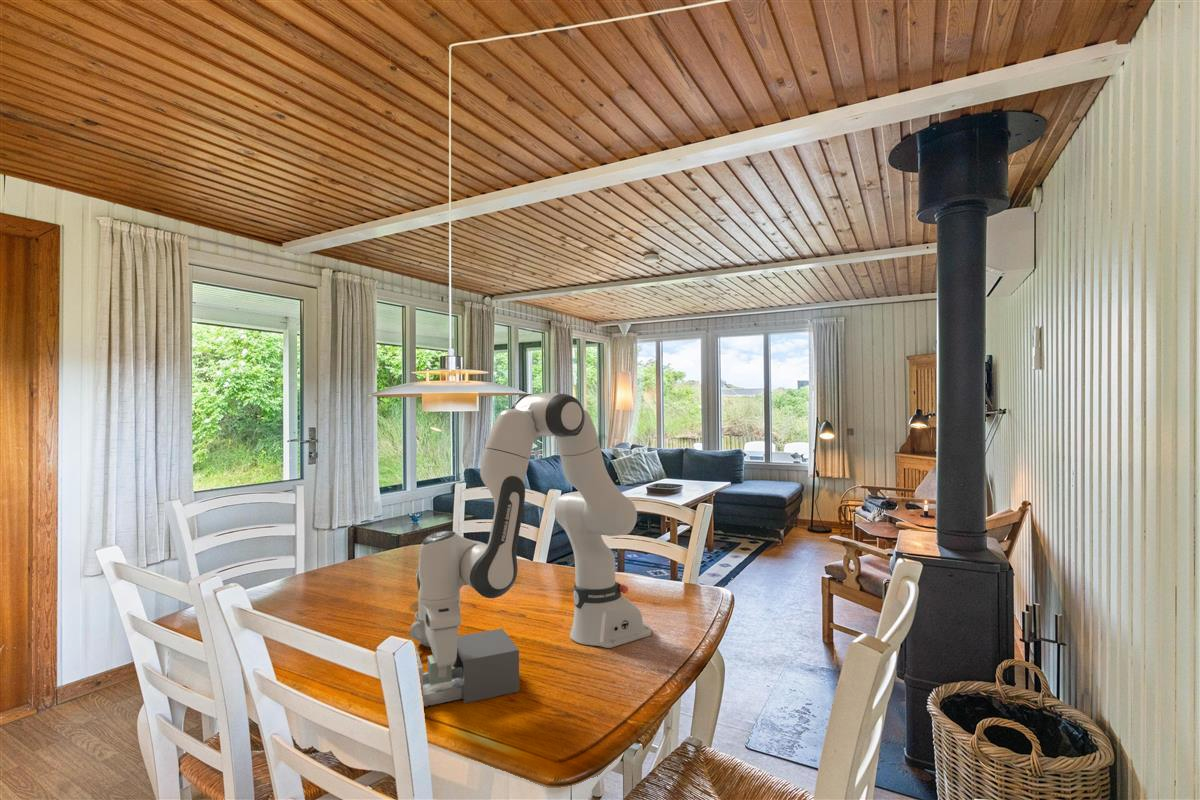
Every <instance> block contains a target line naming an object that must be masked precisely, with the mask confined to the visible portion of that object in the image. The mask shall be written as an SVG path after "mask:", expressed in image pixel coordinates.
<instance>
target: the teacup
mask: <svg viewBox="0 0 1200 800" xmlns="http://www.w3.org/2000/svg"><path fill="white" fill-rule="evenodd" d="M414 614H415V615H414V617H415V618H414V622H413V623H412V624H411V625H410V628H409V636H410V637H411V638H412V639H413V640H416V641H417V642H418V643H420V644H421V645H423V646H424V647H427V648H431V647H430V644H429V642H428V639H427V637H426V633H425V622H424V621H423V620H421V619H419V610H418V611H417V612H415V613H414Z"/></svg>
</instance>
